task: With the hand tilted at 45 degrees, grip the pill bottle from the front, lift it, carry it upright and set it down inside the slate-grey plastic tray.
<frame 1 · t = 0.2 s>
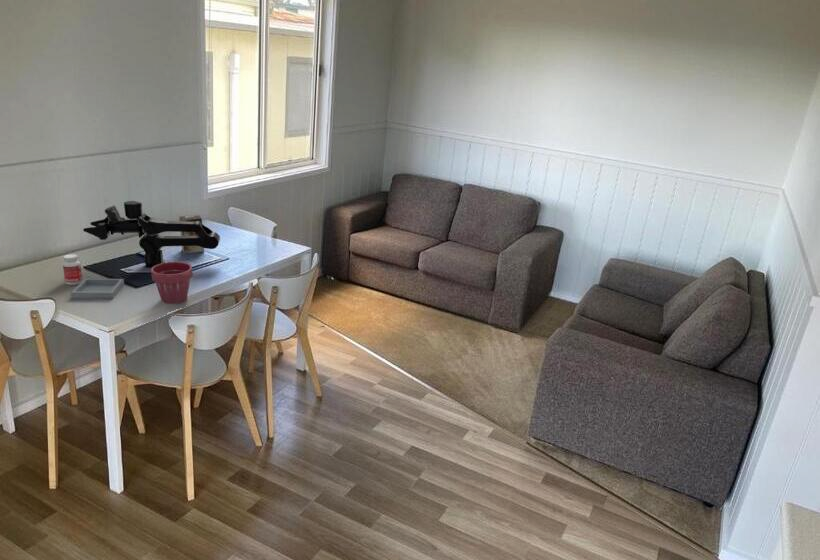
hand: (87, 226, 256), 17 cm above the table, tool horizontal, fingers open, 9 cm apart
coffee box: (192, 251, 287), on the table
tray: (98, 291, 236), on the table
plant pot: (174, 299, 234), on the table
pill bottle: (74, 283, 243), on the table
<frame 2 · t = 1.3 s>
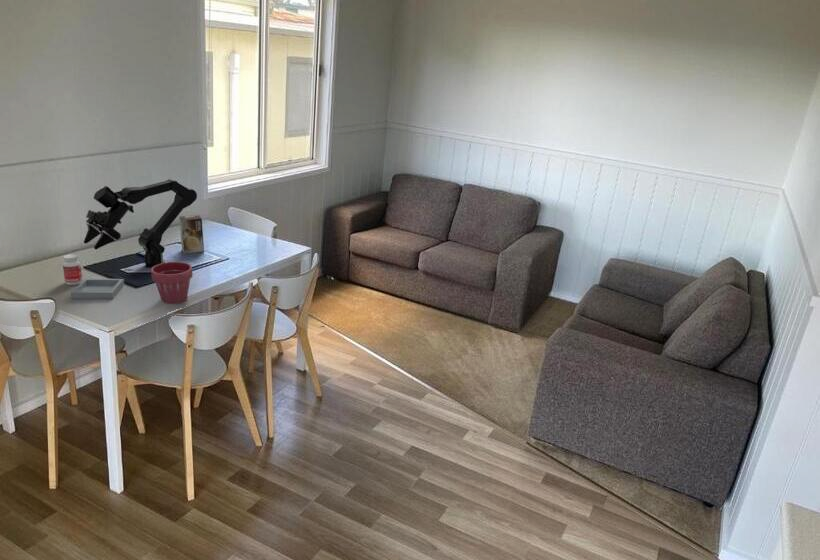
hand: (89, 245, 243), 14 cm above the table, tool tilted 45°, fingers open, 9 cm apart
nothing on the table moved.
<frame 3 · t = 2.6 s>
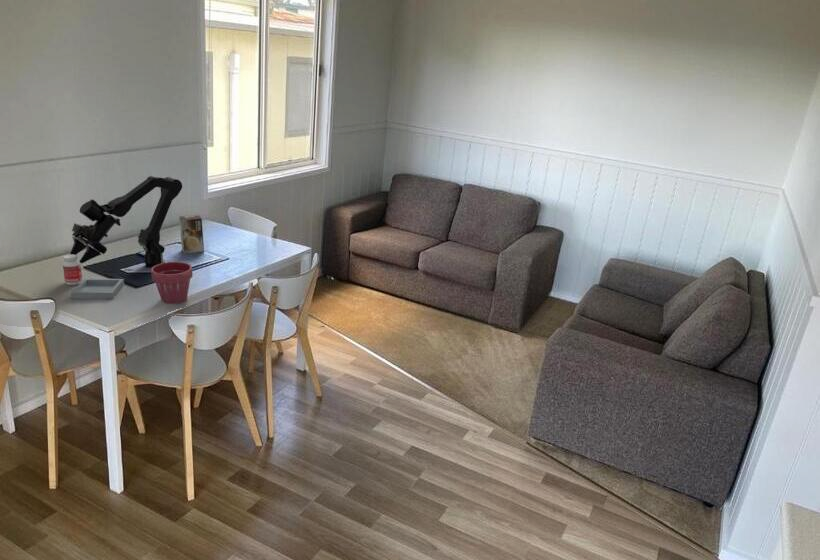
hand: (75, 259, 240), 9 cm above the table, tool tilted 45°, fingers open, 9 cm apart
nothing on the table moved.
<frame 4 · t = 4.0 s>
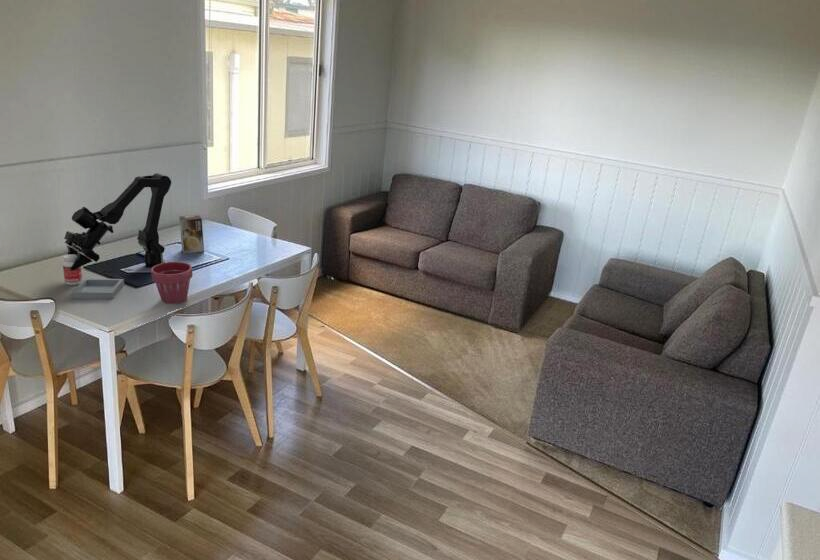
hand: (68, 267, 239), 7 cm above the table, tool tilted 45°, fingers closed on pill bottle, 6 cm apart
pill bottle: (74, 283, 243), on the table, touching gripper
everything else where it was.
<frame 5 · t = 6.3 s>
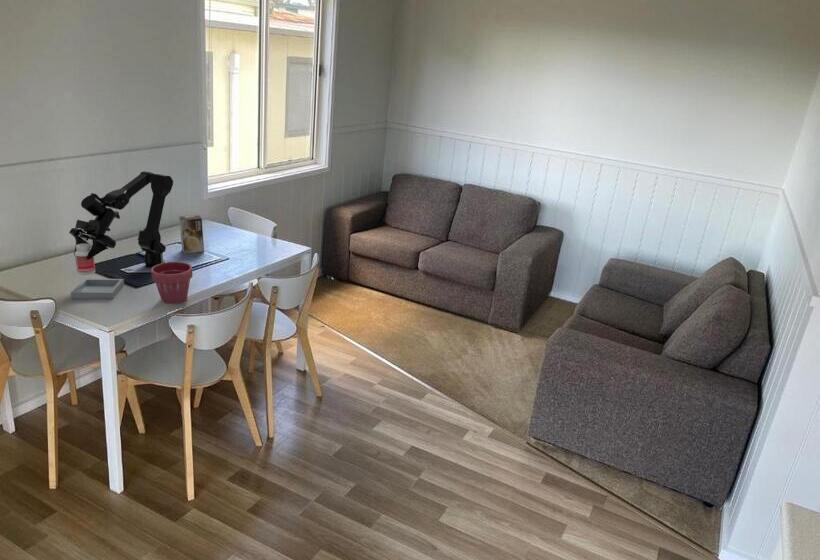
hand: (81, 257, 232), 13 cm above the table, tool tilted 45°, fingers closed on pill bottle, 6 cm apart
pill bottle: (86, 273, 236), point 6 cm above the table, touching gripper
everything else where it was.
when the fingers open (8 cm above the table, at t = 8.5 s): pill bottle drops 1 cm, resting on tray.
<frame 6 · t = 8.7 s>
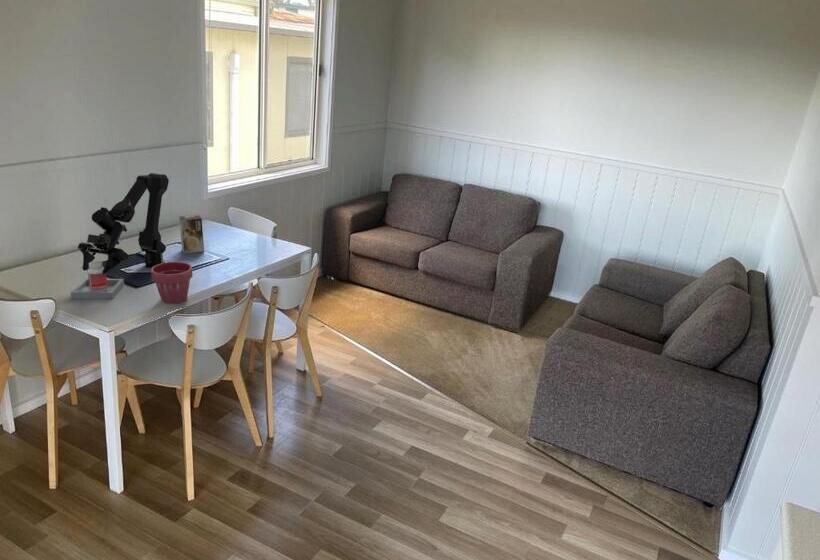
hand: (93, 271, 232), 9 cm above the table, tool tilted 45°, fingers open, 8 cm apart
pill bottle: (99, 290, 236), resting on tray
everything else where it was.
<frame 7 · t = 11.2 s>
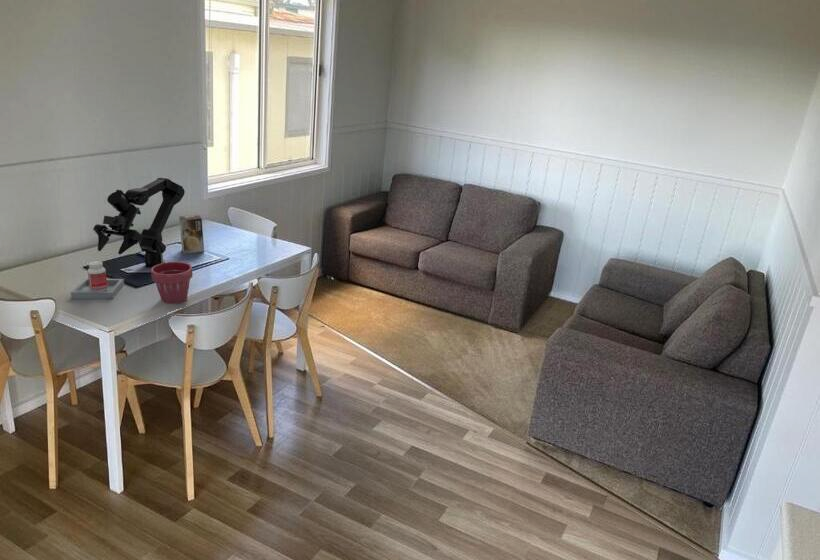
hand: (108, 252, 238), 14 cm above the table, tool tilted 45°, fingers open, 9 cm apart
nothing on the table moved.
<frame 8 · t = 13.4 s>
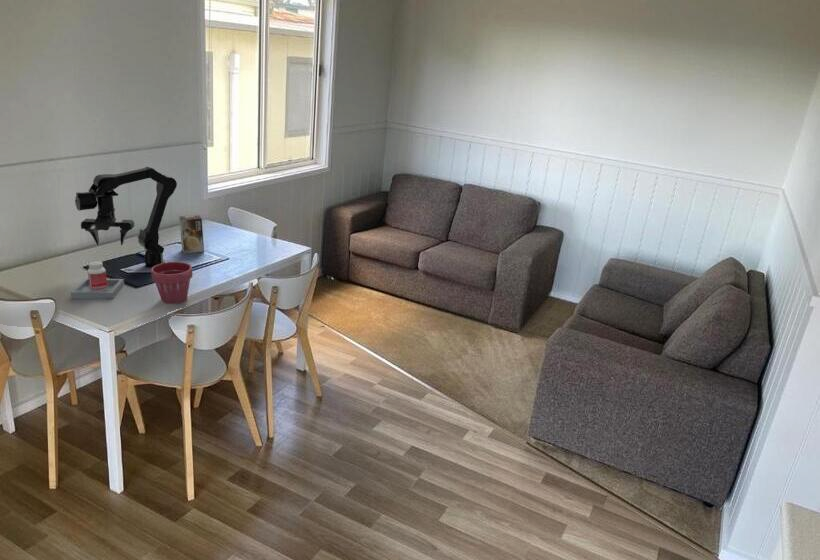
hand: (110, 244, 251), 12 cm above the table, tool pointing down, fingers open, 9 cm apart
nothing on the table moved.
at the end: pill bottle inside the target area on the tray (0.2 cm from its centre), point 0.3 cm above the tray's base; pill bottle tilted 0°; the gripper is holding nothing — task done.
